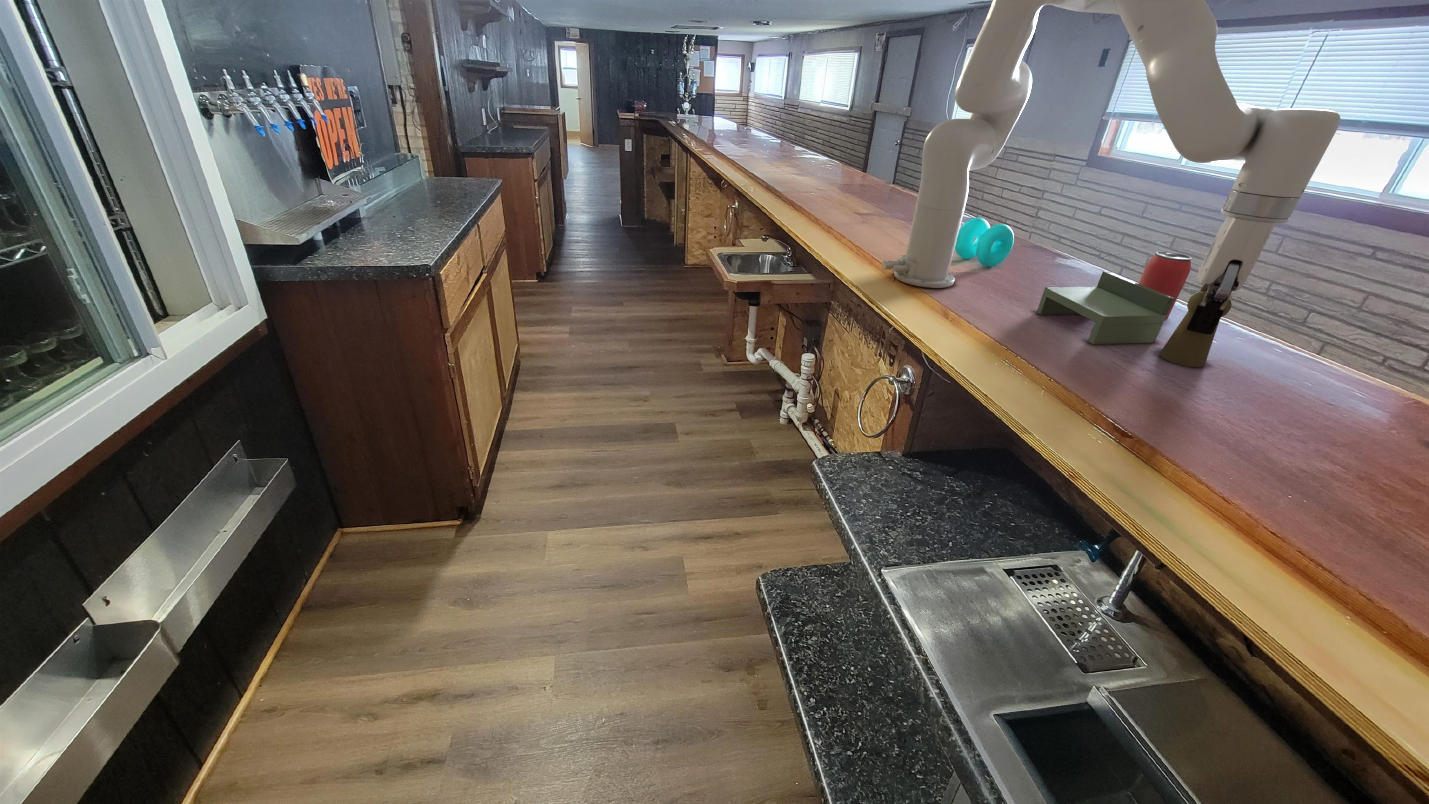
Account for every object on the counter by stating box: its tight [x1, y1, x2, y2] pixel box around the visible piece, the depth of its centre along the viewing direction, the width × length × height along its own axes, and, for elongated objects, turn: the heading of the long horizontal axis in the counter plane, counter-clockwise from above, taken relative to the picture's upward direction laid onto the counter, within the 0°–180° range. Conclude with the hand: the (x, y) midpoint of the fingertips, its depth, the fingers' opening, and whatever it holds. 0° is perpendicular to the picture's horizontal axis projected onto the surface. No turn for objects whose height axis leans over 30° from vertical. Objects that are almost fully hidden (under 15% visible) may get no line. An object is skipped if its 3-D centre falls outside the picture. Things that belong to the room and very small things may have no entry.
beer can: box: [1138, 250, 1193, 322], centre depth 105 cm, size 7×7×12 cm
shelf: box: [1036, 270, 1175, 345], centre depth 101 cm, size 12×15×8 cm
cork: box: [1159, 291, 1233, 368], centre depth 89 cm, size 6×6×11 cm
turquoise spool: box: [954, 216, 1015, 268], centre depth 135 cm, size 10×10×10 cm
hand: (1198, 325), depth 89 cm, fingers closed on cork, 5 cm apart
